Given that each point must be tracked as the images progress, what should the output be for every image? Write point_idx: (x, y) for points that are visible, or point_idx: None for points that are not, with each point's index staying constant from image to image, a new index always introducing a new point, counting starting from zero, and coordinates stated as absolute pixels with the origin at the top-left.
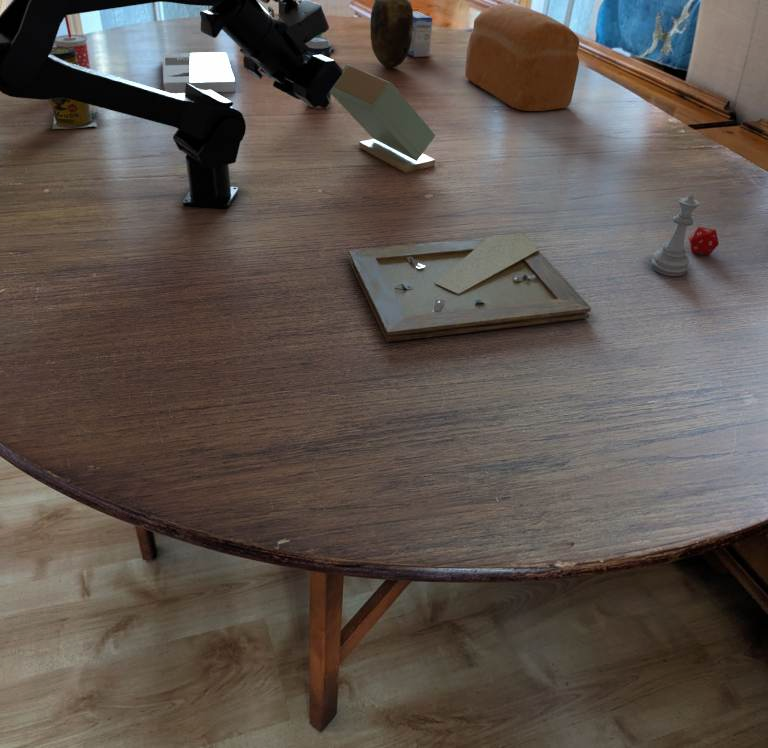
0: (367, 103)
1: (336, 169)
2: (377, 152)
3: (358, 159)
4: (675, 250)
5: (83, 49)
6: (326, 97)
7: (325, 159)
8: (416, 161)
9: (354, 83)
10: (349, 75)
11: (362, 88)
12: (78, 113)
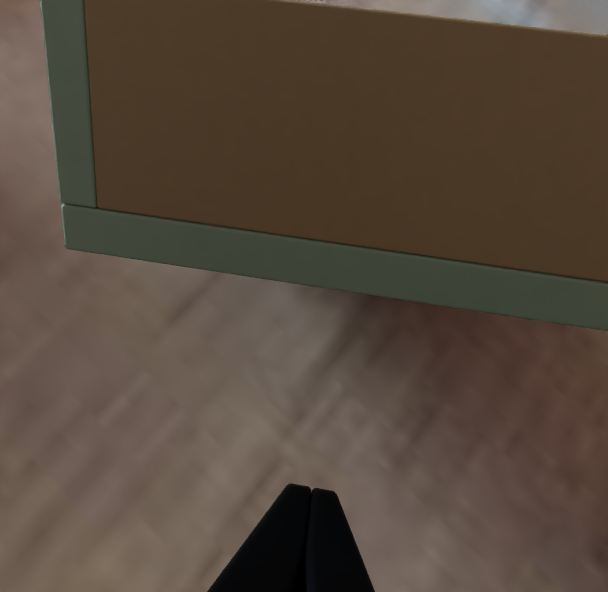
0: (556, 284)
1: (308, 436)
2: None
3: (287, 304)
4: None
5: None
6: (358, 552)
7: (204, 398)
8: None
9: (287, 144)
10: (172, 82)
11: (414, 173)
12: None
